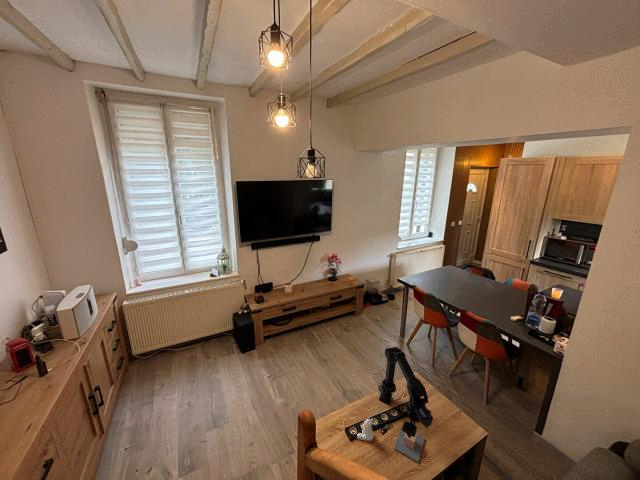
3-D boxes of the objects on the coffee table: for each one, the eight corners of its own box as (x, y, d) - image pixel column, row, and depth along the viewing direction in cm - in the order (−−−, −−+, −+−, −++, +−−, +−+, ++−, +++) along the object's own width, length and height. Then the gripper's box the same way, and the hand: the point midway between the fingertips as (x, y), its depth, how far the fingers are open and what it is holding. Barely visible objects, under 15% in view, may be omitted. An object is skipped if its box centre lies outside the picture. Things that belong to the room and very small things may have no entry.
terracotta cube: (403, 444, 137) (404, 436, 136) (406, 436, 141) (407, 429, 140) (413, 449, 135) (414, 442, 133) (415, 441, 139) (416, 434, 137)
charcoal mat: (394, 449, 136) (394, 447, 135) (401, 427, 147) (402, 426, 147) (418, 463, 129) (418, 461, 129) (424, 439, 141) (424, 437, 140)
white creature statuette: (362, 424, 149) (363, 407, 145) (377, 433, 144) (378, 416, 141) (354, 437, 141) (355, 420, 138) (369, 447, 137) (370, 430, 133)
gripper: (427, 429, 119) (424, 455, 123) (435, 399, 134) (431, 423, 139) (403, 417, 125) (400, 442, 129) (413, 390, 140) (410, 413, 144)
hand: (411, 429), depth 135 cm, fingers open, 9 cm apart
